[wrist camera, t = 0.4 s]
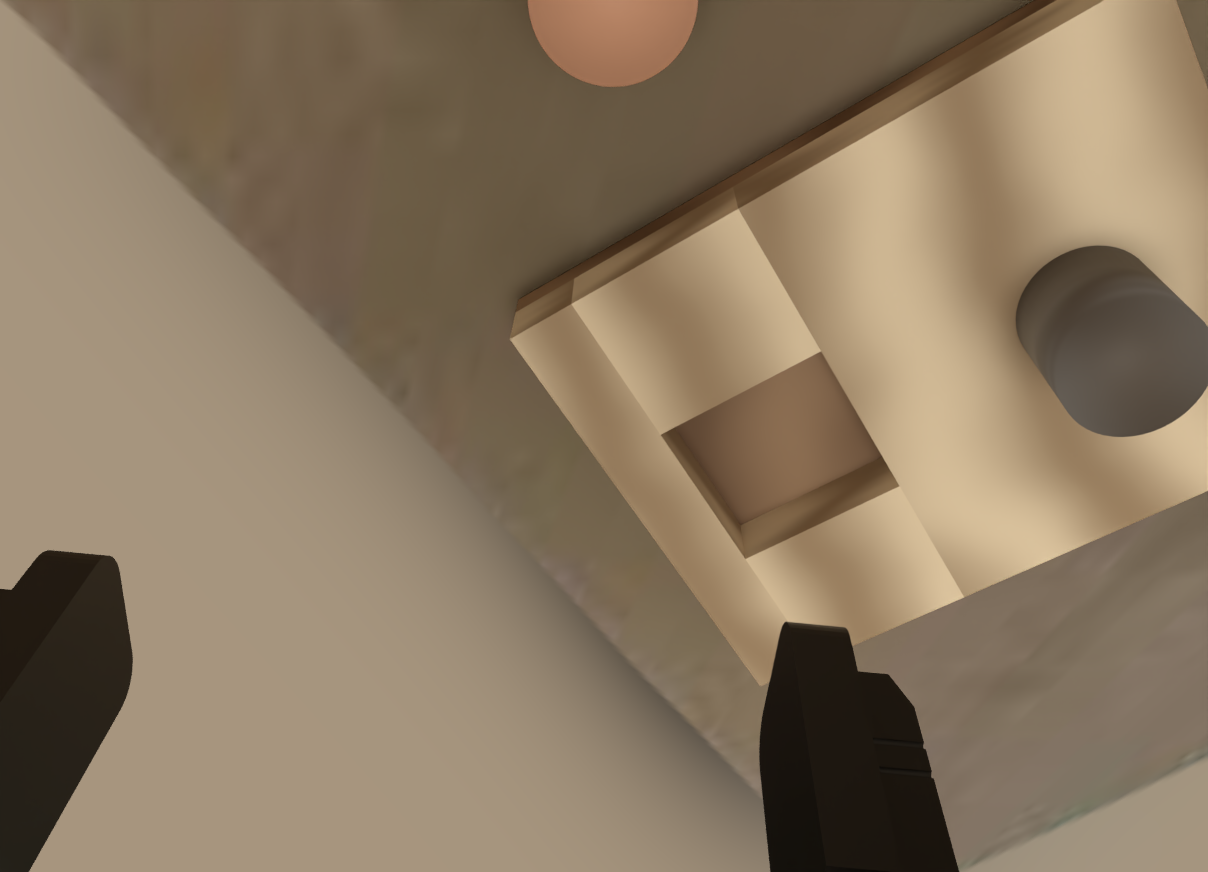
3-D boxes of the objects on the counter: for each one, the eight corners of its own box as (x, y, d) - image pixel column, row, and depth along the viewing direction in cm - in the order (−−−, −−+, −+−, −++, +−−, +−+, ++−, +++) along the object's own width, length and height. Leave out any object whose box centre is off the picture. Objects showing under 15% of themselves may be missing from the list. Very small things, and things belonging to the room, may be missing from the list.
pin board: (1120, -50, 32) (1235, -8, 26) (1285, 391, 38) (1407, 507, 32) (518, 299, 37) (496, 402, 31) (752, 632, 44) (771, 769, 38)
